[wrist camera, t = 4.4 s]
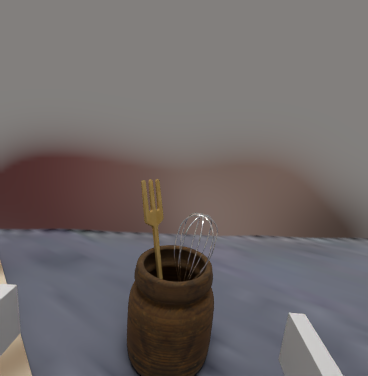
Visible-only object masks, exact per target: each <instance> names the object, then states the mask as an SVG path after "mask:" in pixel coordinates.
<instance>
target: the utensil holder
mask: <svg viewBox="0 0 368 376" xmlns="http://www.w3.org/2000/svg"><path fill="white" fill-rule="evenodd" d="M155 183H156V196H157V210H156V206H155V197H154V189H153V181H152V180H149V193H150V207H151V210H150V211H149V207H148V199H147V191H146V181H144V180H142V182H141V184H142V197H143V209H144V221H145V223H146V224H148V225H150V226H152V229H153V239H154V248H152V249H149V250H147V251H146V252H144V253H143V254H142V255H141V256H140V257H139V259H138V261H137V265H136V269H135V282H134V284H133V286H132V288H131V291H130V296H129V303H128V322H127V348H128V354H129V358H130V361H131V363H132V365H133V367H134V368H135V369H136V371H137V372H138V373H139V374H140V375H141V376H194V375H195V374H196V373H197V372H198V371H199V370H200V368H201V367H202V365H203V363H204V361H205V359H206V356H207V352H208V348H209V342H210V336H211V328H212V321H213V311H214V296H213V291H212V288H211V286H212V281H213V273H212V265H211V263H210V261H209V260H210V258H211V256H212V254H211V256H210V253H209V256H210V258H209V256H208V258H207V257H206V256H205V255H203V252H204V250H203V252H202V253H200V252H198V251H197V250H194V249H191V248H192V245H191V248H188V247H183V243H182V246H176V241H175V245H166V246H159V236H158V225H159V224H160V223H161V221H162V220H163V208H162V200H161V191H160V183H159V179H156V180H155ZM193 214H198V213H193ZM191 215H192V214H191ZM191 215H190V216H189V217H192V216H191ZM193 216H200V217H202V216H203V217H205V218H206V217H207V216H208V215H203V214H200V215H193ZM189 217H188V218H189ZM200 217H198V218H200ZM188 218H187V219H188ZM198 218H197V219H198ZM208 218H209V217H208ZM197 219H195V220H197ZM206 219H207V218H206ZM209 219H211V218H209ZM185 220H186V219H185ZM185 220H184V221H185ZM207 220H208V219H207ZM211 220H212V219H211ZM184 221H183V222H184ZM186 221H187V220H186ZM212 221H213V220H212ZM183 222H182V223H183ZM193 222H194V221H193ZM193 222H192V223H193ZM198 222H199V220H198ZM208 222H209V220H208ZM213 222H214V221H213ZM192 223H191V224H192ZM185 224H186V222H185ZM211 224H212V222H211V223H210V225H211ZM181 225H182V224H181ZM181 225H180V227H181ZM197 225H198V223H197ZM190 226H191V225H190ZM190 226H189V228H190ZM184 227H185V225H184ZM202 227H203V222H202ZM189 228H188V229H189ZM211 228H212V226H211V227H210V230H211ZM216 228H217V226H216ZM188 229H187V231H188ZM196 229H197V227H196ZM179 230H180V228H179ZM183 231H184V229H183ZM187 231H186V233H187ZM212 231H213V228H212ZM178 233H179V231H178ZM186 233H185V236H186ZM195 233H196V231H195ZM201 233H202V229H201ZM217 233H218V230H217ZM182 234H183V232H182ZM209 234H210V233H209ZM217 235H218V234H217ZM185 236H184V239H185ZM177 237H178V234H177ZM177 237H176V240H177ZM194 237H195V234H194ZM208 237H209V235H208ZM200 238H201V234H200ZM181 239H182V236H181ZM184 239H183V242H184ZM193 240H194V238H193ZM213 240H214V234H213ZM216 240H217V236H216ZM216 240H215V243H216ZM207 241H208V238H207ZM199 242H200V239H199ZM192 244H193V241H192ZM206 244H207V242H206ZM180 245H181V240H180ZM212 245H213V241H212ZM212 245H211V249H212ZM198 246H199V243H198ZM198 246H197V249H198ZM205 247H206V245H205ZM205 247H204V249H205ZM214 247H215V244H214ZM211 249H210V252H211ZM213 250H214V248H213ZM212 253H213V251H212Z"/></svg>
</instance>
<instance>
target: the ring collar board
mask: <svg viewBox="0 0 368 376" xmlns="http://www.w3.org/2000/svg"><path fill="white" fill-rule="evenodd" d="M0 284H7V283H6V279H5V276H4V272H3V269H2V265H1V261H0ZM0 376H32V374H31V371H30V367H29V363H28V360H27V356H26V352H25V349H24V345H23V341H22V338H21V334H19V335H18V337H17V338H16V339H15V340H14V341H13V342H12V343H11V345H10V346H9V347H8V348H7V349H6V350H5V351H4V353H3V354H2V355H1V356H0Z"/></svg>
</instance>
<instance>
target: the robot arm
mask: <svg viewBox="0 0 368 376" xmlns="http://www.w3.org/2000/svg"><path fill="white" fill-rule="evenodd" d="M20 333H21V329H20V317H19V305H18V292H17V285H10V284H0V356H1V355H2V354H3V353H4V351H5V350H6V349H7V348H8V347H9V346H10V345H11V343H12V342H13V341H14V340H15V339H16V338H17V337H18V335H19V334H20ZM279 362H280V365H281V367H282V370H283V373H284V375H285V376H343V375H342V373H341V371H340V370H339V368H338V367H337V365H336V363H335V362H334V360H333V359H332V357H331V355H330V354H329V352H328V351H327V349H326V347H325V346H324V344H323V343H322V341H321V339H320V338H319V336H318V334H317V333H316V331H315V330H314V328H313V326H312V325H311V323H310V322H309V320H308V318H307V317H306V315H305V314H297V313H289V314H288V318H287V323H286V328H285V332H284V337H283V341H282V346H281V351H280V355H279Z"/></svg>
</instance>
